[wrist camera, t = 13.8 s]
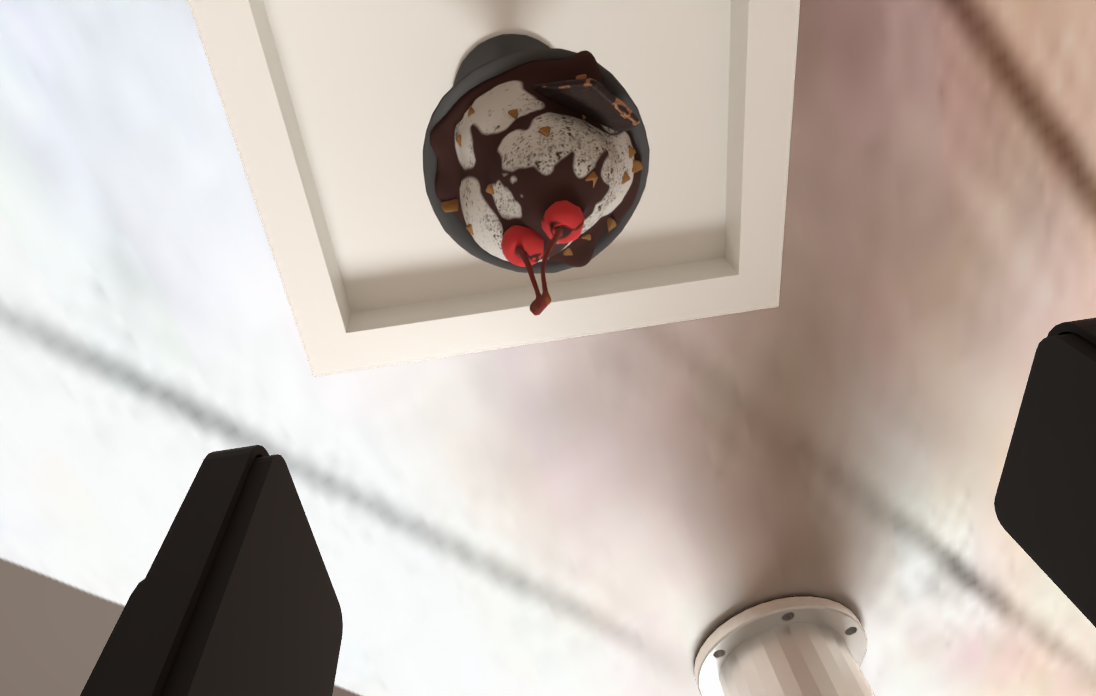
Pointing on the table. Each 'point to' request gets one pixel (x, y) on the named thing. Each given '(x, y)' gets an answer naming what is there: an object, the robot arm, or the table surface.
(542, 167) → the sundae
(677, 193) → the tray
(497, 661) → the table surface
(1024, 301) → the table surface
